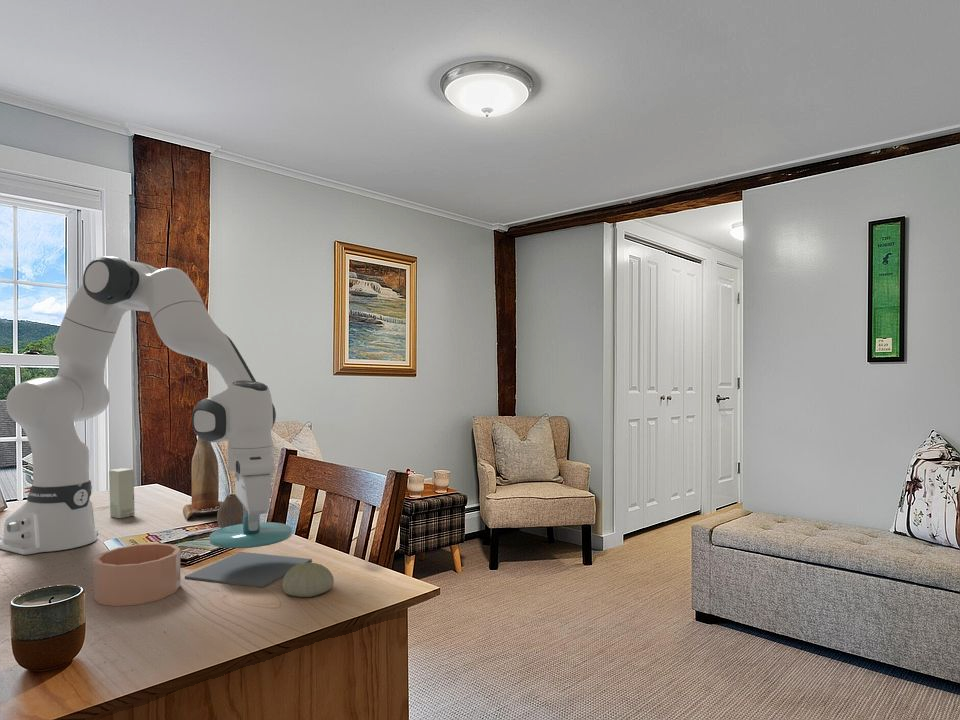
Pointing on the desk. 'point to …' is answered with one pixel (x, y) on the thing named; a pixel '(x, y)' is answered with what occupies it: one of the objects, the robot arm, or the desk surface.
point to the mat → (248, 569)
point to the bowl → (136, 574)
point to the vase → (230, 512)
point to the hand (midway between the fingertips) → (251, 527)
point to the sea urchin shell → (307, 580)
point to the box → (121, 493)
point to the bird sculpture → (204, 480)
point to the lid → (250, 535)
